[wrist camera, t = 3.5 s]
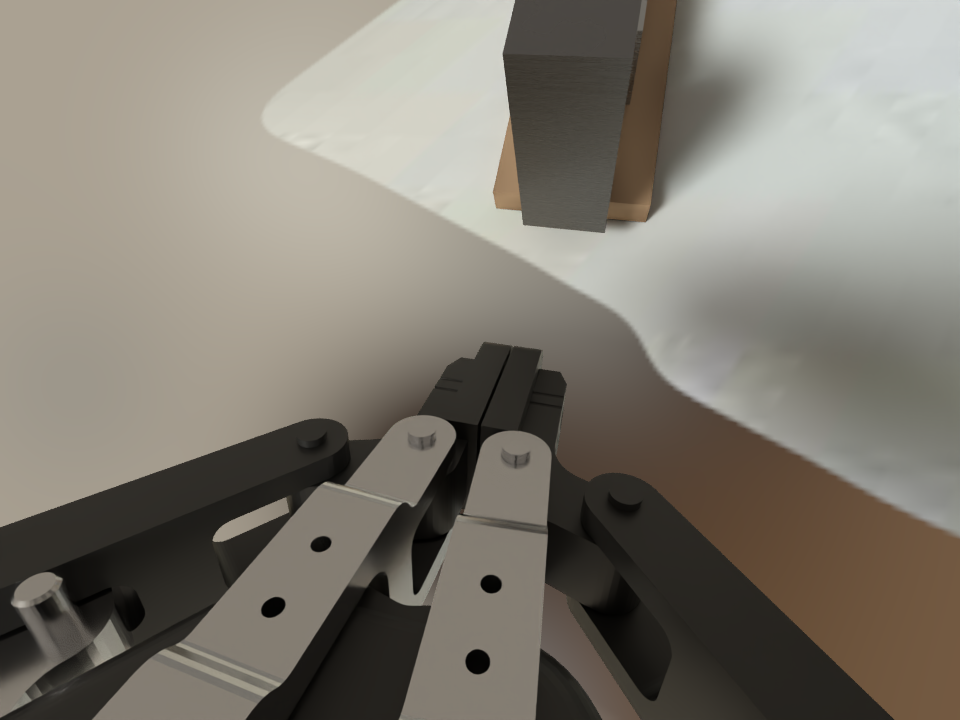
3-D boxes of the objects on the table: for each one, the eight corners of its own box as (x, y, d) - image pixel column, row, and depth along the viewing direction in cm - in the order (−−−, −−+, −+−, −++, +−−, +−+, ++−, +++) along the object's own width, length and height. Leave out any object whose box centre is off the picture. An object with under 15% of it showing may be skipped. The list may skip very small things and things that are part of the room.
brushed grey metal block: (643, -23, 29) (684, -283, 20) (604, 232, 25) (632, 58, 15) (573, -23, 30) (579, -273, 20) (523, 224, 26) (502, 53, 16)
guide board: (682, -59, 32) (687, -85, 31) (645, 222, 27) (650, 205, 25) (554, -57, 34) (553, -83, 32) (496, 208, 28) (493, 192, 27)
